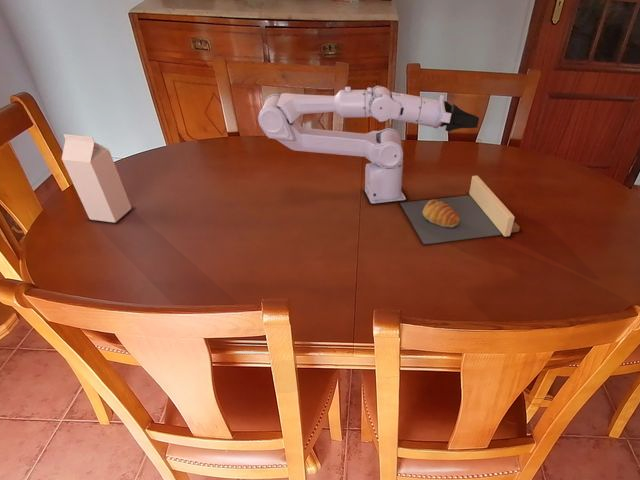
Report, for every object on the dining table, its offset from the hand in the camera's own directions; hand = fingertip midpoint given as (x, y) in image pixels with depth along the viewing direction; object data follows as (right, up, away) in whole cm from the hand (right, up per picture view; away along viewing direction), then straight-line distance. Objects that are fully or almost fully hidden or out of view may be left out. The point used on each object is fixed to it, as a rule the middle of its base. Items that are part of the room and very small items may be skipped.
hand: (473, 120), depth 111 cm
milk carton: (-89, -21, +5) cm, 92 cm away
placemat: (-5, -22, +5) cm, 23 cm away
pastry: (-7, -22, +5) cm, 24 cm away
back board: (+7, -20, +7) cm, 22 cm away
